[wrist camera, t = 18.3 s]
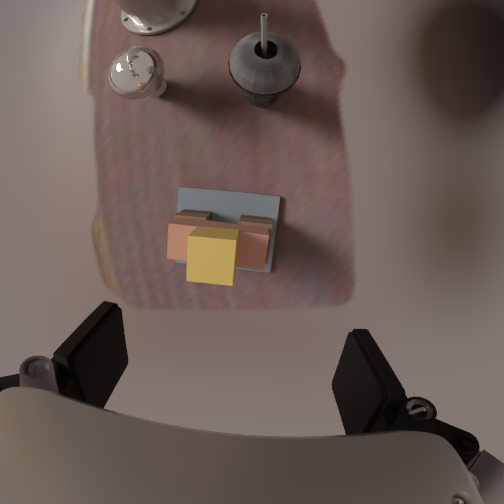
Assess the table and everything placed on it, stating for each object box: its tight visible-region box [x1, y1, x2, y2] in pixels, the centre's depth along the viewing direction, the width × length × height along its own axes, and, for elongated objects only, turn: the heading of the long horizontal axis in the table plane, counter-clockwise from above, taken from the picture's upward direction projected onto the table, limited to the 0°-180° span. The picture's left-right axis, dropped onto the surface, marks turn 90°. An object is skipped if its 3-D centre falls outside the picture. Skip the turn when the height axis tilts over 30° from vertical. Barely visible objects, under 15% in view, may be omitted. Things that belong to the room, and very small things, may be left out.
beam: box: [167, 217, 269, 270], centre depth 33 cm, size 11×4×4 cm, turn 83°
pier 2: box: [239, 214, 272, 264], centre depth 37 cm, size 5×4×5 cm
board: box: [175, 187, 280, 273], centre depth 40 cm, size 11×14×1 cm
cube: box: [187, 226, 239, 286], centre depth 29 cm, size 4×4×4 cm
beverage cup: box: [228, 13, 301, 107], centre depth 25 cm, size 7×7×20 cm
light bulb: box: [108, 46, 166, 100], centre depth 29 cm, size 7×7×12 cm
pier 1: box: [174, 209, 212, 221], centre depth 37 cm, size 5×4×5 cm
